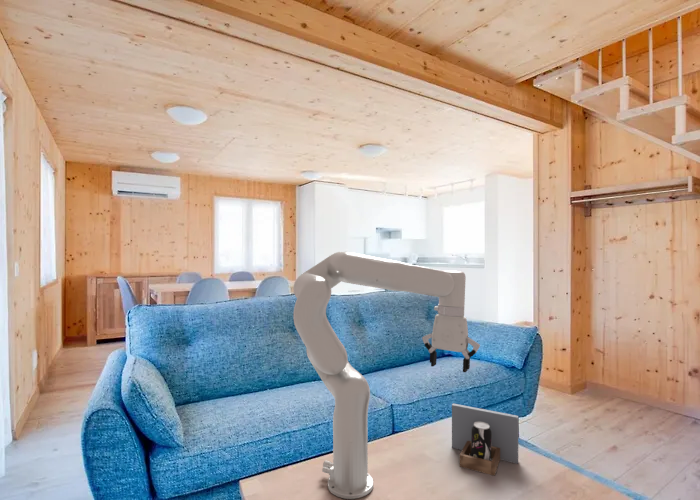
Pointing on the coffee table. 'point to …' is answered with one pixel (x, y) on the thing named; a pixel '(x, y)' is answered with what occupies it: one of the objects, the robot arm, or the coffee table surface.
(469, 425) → the wall board
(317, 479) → the coffee table surface
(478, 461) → the brown wooden open box
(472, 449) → the beverage can
